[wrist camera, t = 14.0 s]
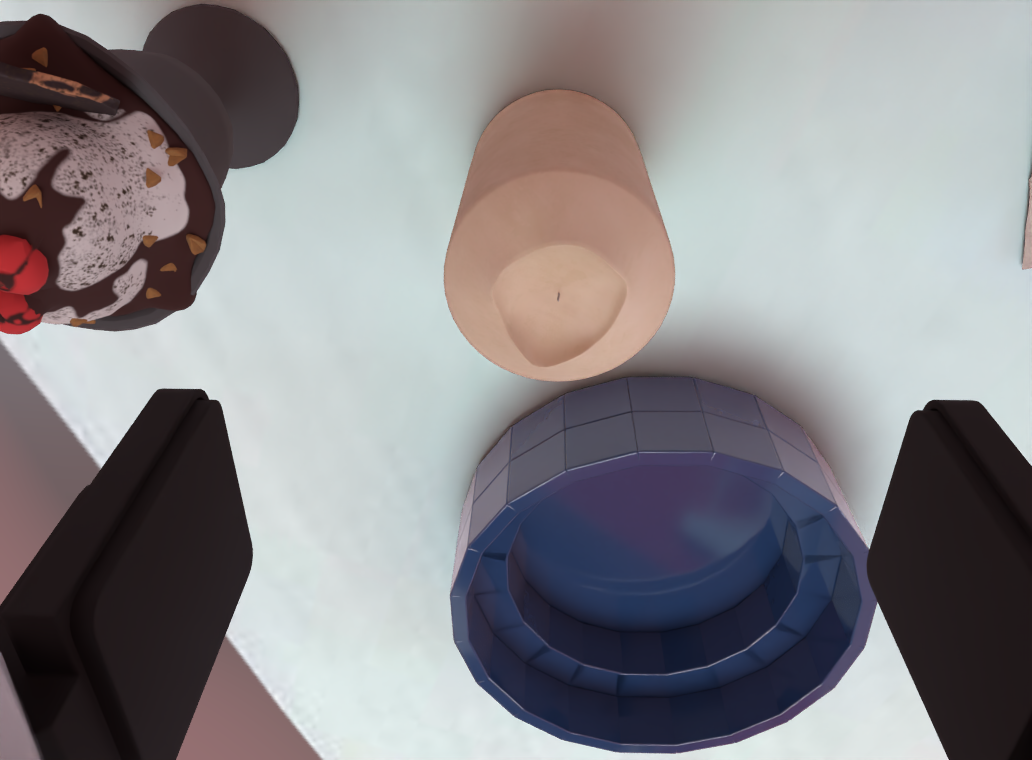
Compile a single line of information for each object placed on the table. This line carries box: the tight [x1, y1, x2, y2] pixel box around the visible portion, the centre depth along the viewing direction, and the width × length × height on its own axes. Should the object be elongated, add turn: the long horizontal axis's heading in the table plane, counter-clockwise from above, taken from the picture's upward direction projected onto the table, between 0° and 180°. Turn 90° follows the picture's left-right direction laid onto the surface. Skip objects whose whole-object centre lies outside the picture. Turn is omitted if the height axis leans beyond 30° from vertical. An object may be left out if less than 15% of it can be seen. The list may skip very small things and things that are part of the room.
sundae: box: [0, 4, 299, 334], centre depth 20 cm, size 7×7×15 cm
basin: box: [450, 377, 878, 754], centre depth 33 cm, size 15×15×5 cm
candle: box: [444, 89, 675, 381], centre depth 23 cm, size 6×6×10 cm
